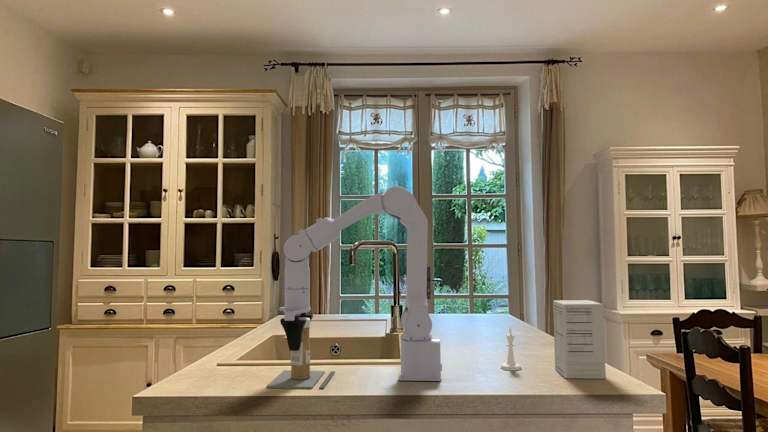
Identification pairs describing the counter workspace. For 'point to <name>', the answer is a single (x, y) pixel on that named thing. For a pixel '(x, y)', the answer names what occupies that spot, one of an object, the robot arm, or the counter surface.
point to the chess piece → (510, 355)
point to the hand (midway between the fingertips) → (297, 348)
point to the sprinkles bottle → (302, 355)
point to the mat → (287, 382)
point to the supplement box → (579, 339)
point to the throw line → (327, 380)
